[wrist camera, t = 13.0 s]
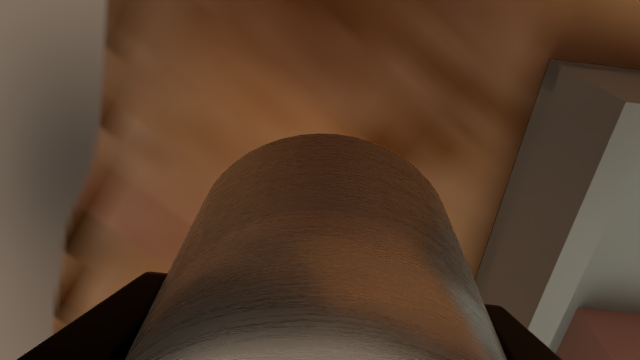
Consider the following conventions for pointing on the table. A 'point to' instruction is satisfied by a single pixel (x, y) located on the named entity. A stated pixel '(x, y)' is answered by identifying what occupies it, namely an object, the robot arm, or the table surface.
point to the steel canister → (319, 265)
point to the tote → (570, 204)
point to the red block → (601, 336)
